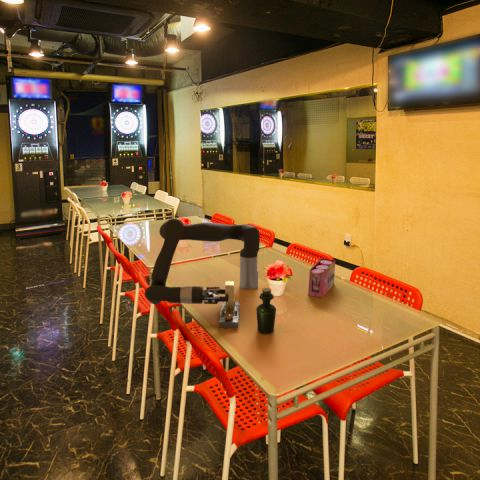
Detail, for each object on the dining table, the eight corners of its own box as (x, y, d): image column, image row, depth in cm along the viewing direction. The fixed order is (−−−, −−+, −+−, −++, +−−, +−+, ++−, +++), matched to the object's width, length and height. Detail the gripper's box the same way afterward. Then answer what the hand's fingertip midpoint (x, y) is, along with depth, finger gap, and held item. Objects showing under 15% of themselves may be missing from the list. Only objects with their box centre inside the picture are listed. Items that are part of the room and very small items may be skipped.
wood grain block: (225, 308, 186) (225, 281, 183) (234, 308, 186) (233, 281, 183) (225, 313, 181) (225, 285, 178) (233, 313, 181) (233, 285, 178)
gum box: (322, 299, 206) (323, 272, 202) (306, 296, 209) (307, 270, 206) (334, 284, 226) (335, 260, 223) (320, 281, 230) (321, 258, 226)
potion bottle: (270, 324, 177) (270, 284, 173) (279, 333, 170) (280, 291, 165) (252, 328, 174) (253, 287, 169) (261, 336, 167) (262, 294, 162)
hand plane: (222, 307, 195) (222, 297, 194) (239, 307, 195) (239, 297, 194) (219, 328, 174) (219, 317, 172) (238, 328, 173) (238, 317, 172)
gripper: (189, 292, 174) (228, 293, 174) (193, 281, 188) (229, 281, 188) (189, 309, 176) (228, 309, 176) (194, 297, 190) (229, 297, 190)
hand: (228, 295), depth 182 cm, fingers open, 8 cm apart
